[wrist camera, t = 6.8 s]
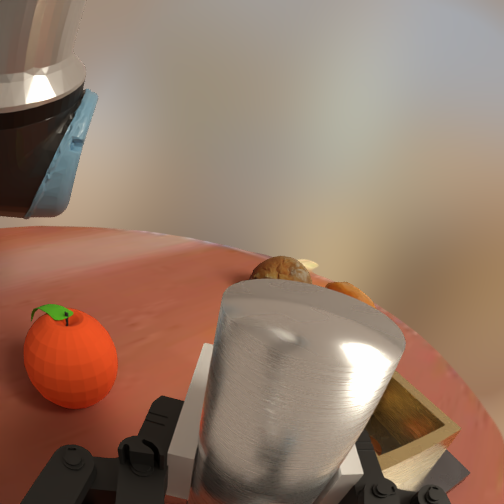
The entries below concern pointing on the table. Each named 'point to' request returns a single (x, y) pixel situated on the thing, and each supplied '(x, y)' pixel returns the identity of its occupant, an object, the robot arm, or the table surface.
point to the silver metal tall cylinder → (288, 390)
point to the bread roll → (282, 270)
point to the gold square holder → (414, 439)
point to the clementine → (70, 357)
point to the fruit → (350, 291)
